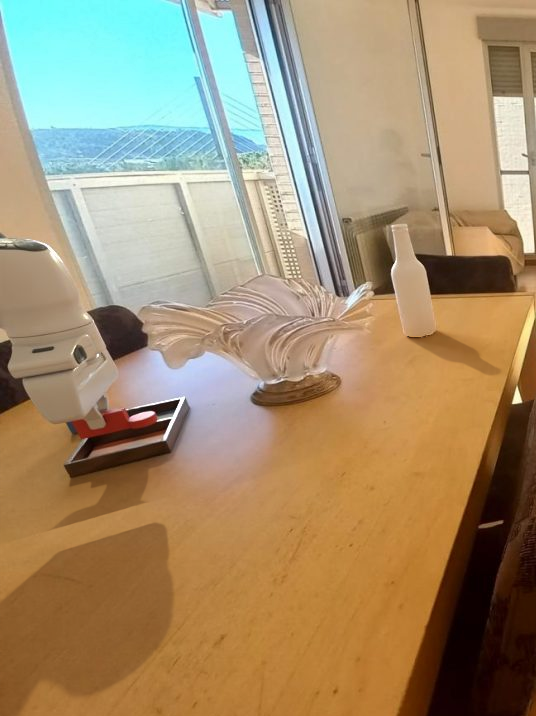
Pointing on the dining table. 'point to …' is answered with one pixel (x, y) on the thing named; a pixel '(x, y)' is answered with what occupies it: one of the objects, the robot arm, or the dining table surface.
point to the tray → (131, 440)
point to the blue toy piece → (71, 427)
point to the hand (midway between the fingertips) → (102, 423)
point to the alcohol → (411, 287)
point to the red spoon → (116, 422)
